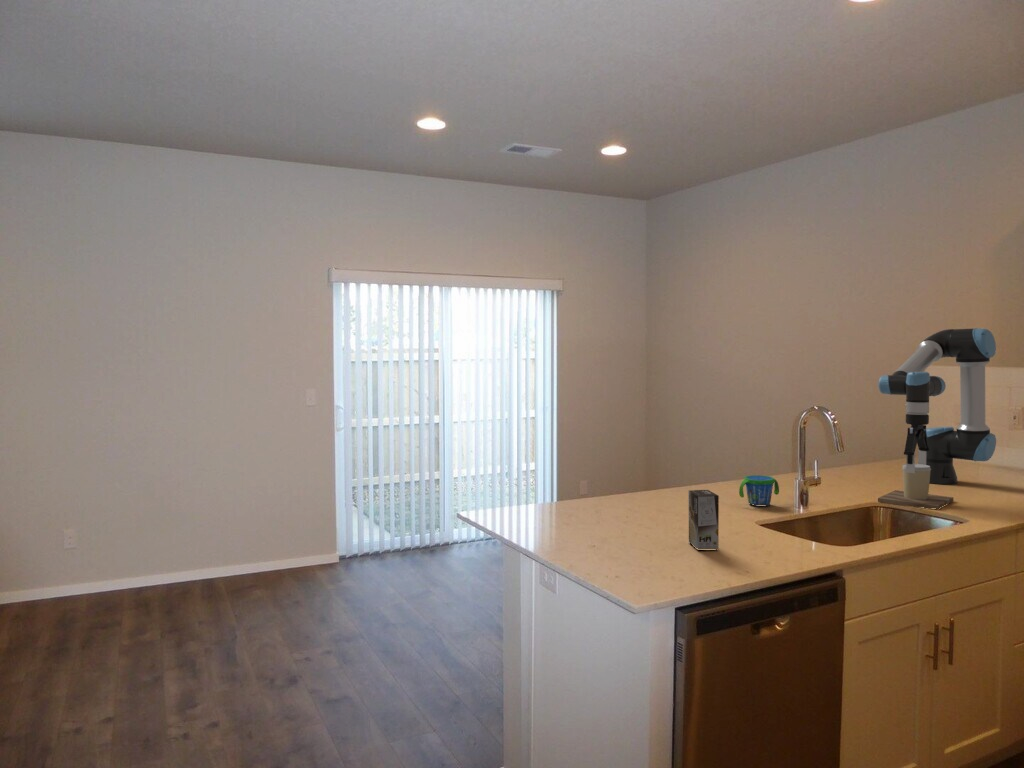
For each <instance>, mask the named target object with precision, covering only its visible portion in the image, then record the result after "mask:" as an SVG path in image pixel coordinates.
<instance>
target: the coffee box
mask: <svg viewBox="0 0 1024 768" xmlns="http://www.w3.org/2000/svg"><path fill="white" fill-rule="evenodd" d="M719 497H720V496H719V495H718V494H716V493H715V492H712V491H711V490H709V489H694V490H693V489H691V490H688V543H689V542H690V543H691V544H693V545H694V546H695V547H696V548H698V549H718V550H719V540H720V539H719V533H720V532H719V522H720V521H719V520H720V519H719V518H720V517H719V515H720V514H719V510H720V509H719V508H720V507H719V502H720V500H719V499H720V498H719Z"/></svg>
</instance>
